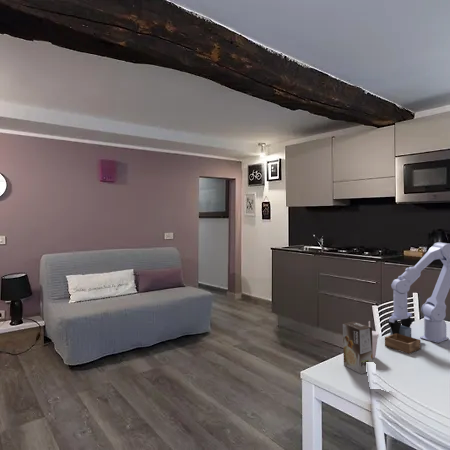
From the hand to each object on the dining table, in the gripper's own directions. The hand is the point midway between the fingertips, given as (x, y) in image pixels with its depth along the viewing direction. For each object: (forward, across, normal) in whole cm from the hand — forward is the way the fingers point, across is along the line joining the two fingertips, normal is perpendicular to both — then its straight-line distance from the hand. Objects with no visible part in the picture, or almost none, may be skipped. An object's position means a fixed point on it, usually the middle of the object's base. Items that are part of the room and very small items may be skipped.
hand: (400, 335), depth 160 cm
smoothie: (+2, +28, +4) cm, 29 cm away
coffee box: (+2, +42, +8) cm, 42 cm away
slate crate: (+2, 0, 0) cm, 2 cm away
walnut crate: (+2, +10, +6) cm, 12 cm away
